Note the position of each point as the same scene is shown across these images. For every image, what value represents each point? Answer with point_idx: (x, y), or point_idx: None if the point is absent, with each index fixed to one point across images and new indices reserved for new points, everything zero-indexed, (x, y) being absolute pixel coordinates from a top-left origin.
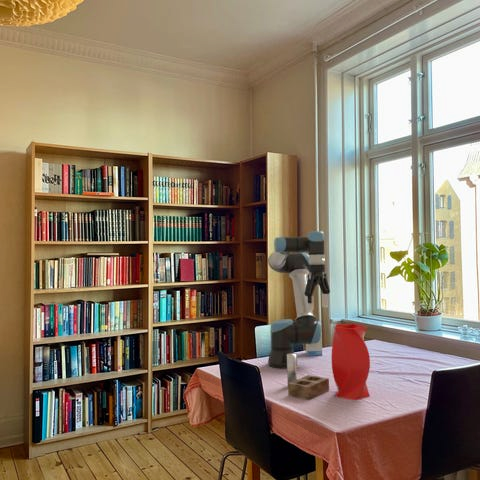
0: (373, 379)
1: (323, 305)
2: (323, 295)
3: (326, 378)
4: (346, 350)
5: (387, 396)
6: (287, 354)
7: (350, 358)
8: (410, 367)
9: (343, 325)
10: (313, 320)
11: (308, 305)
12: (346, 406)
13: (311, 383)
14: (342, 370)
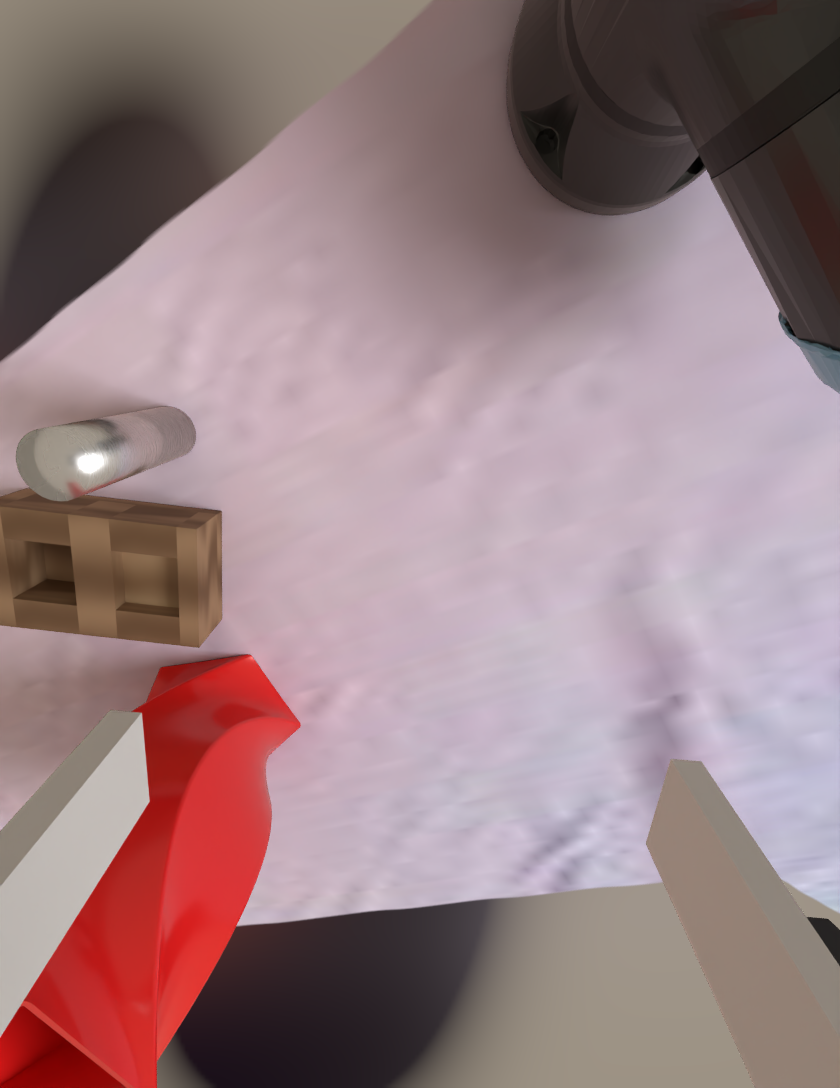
0: (506, 725)
1: (680, 814)
2: (821, 1082)
3: (190, 638)
4: None
5: (284, 824)
6: (25, 441)
7: None
8: (811, 807)
9: (70, 1027)
10: None
11: (54, 791)
12: (75, 742)
13: (61, 610)
14: None
